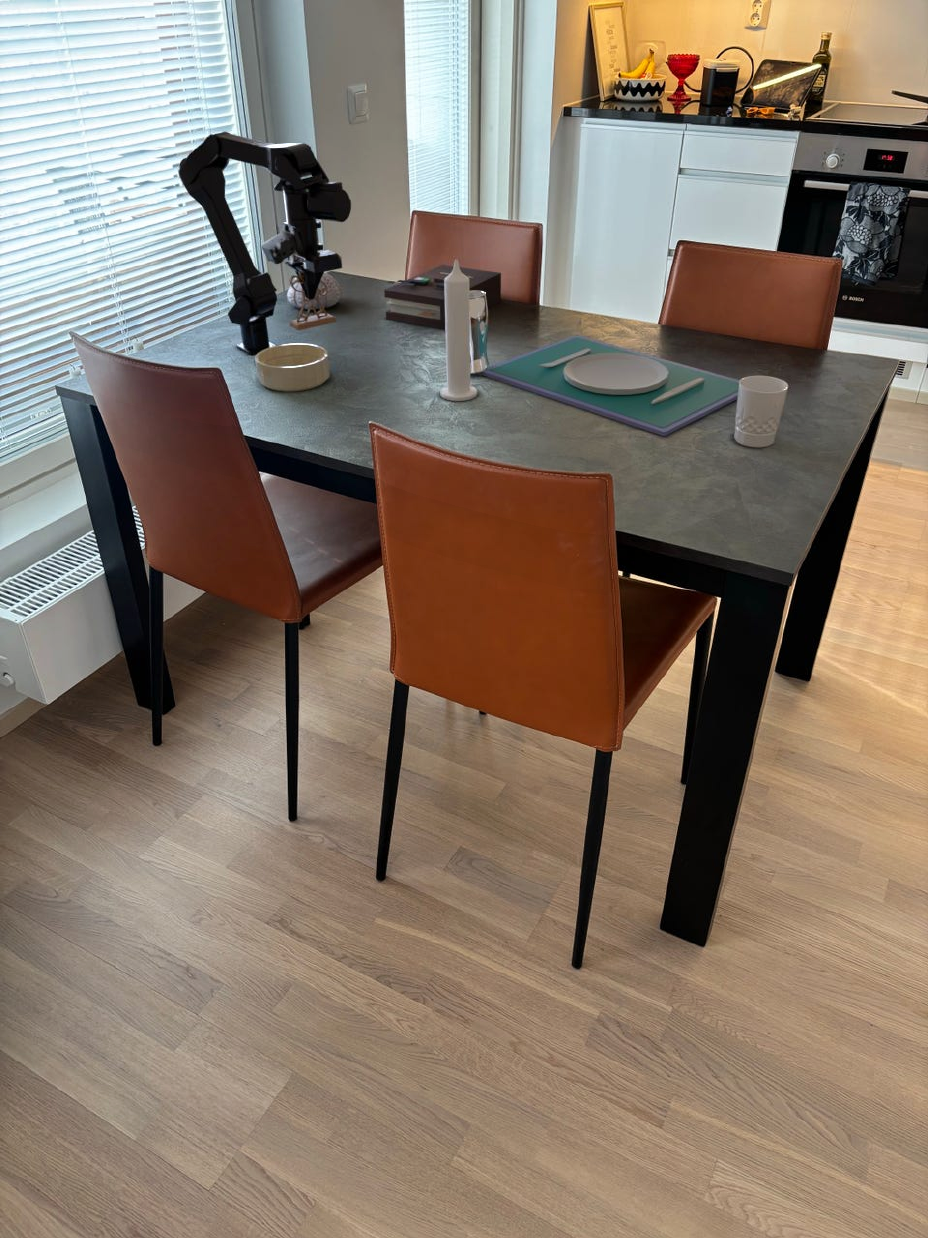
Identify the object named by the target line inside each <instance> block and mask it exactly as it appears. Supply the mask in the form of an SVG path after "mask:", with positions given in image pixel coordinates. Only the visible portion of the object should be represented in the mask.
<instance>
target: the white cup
mask: <svg viewBox="0 0 928 1238" xmlns="http://www.w3.org/2000/svg"><path fill="white" fill-rule="evenodd" d="M739 380H740V381H739V389H738V398H737V400H736V408H735V418H734V419H735V420H734V422H735V426H734V435H733V439H734V440H735V442H736V443H738V444H739V445H742V446H745V447H749V448H767V447H769V446H771V445H773V444H774V443H775V439H776V435H777V431H778V429H779V426H780V423H781V420H782V419H781V418H782V414H783V412H784V406H785V402H786V399H787V394H788V390H789V384H788V383H787V381H785V380H783V379H781V378H778V377H774V376H768V375H749V376H745V377H742V378H741V379H739Z"/></svg>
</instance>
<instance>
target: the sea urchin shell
mask: <svg viewBox="0 0 928 1238" xmlns="http://www.w3.org/2000/svg"><path fill="white" fill-rule="evenodd" d="M296 279H297V278H296V277H295V278H293V281H295V280H296ZM321 281H323V282H324V283H325V284H326V286H327V290H328V291H327V294H326V295H325V296H321V295H319V293H318V290H317V299H318V301H319V302H320V304H321V305H322V307H323V308H324V309H326V308H327V309H329V308H331V307H333V306H335V305H336V304H337V303H339V301H340V300H341V297H343V289H342V286H341V285H340V284H339V282H338V281H337V280H336V279H335V277H333V276H332V275H330V274H328V273H327V272H324V273H323V275H322V278H321ZM293 286H294V288H295V289H296V290H299V291H302V290H303V289H302V286H301V284H300V283H296V284H295V285H293ZM323 287H324V285H323V284H322V283H321V282H320V283H319V286H318V289H321V288H323ZM324 292H325V290H323V292H322V291H321V294H324ZM286 297H287V300H288V301H289V303H290V304H291V305H292V306H293V307H296V308H299V309H301V306H302V303H303V295H302V293H301V292H297V291H295V290H294V289H293V288H292V287H291V285H290V286H289V288H288V291H287V294H286ZM305 299H306V296H305ZM310 304H312V306H313V307H314V309H315V310H320V309H321V307H320V306H319V304H318V303H317V301H316V300H311V301H308V302H307V301H306V303H305V306H304V308H303V310H308V308H309V305H310ZM311 310H312V311H313V309H312V308H311ZM311 310H310V311H311Z"/></svg>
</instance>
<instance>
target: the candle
mask: <svg viewBox="0 0 928 1238" xmlns="http://www.w3.org/2000/svg"><path fill="white" fill-rule="evenodd" d="M453 266H454V268H453V271H452V273H451V274H449V275H448V276H447V277H446V278H445V279H444V292H445V329H444V331H445V361H446V362H445V363H446V364H445V365H446V366H445V367H446V369H445V370H446V386H443V387H442V388H441V389H440V391H439V392H440V397H441V398H442V399H444V400H448V401H451V402H465V401H469V400H470V401H471V400H472V399H474V398H476V397H477V396H478V390H477V388H476V387H475V386H474V385H473V386H472V385H471V374H470V306H469V278H468V277H467V276H465V275H464V274H463V273H462V272H461V270H460V268H459V267H460V265H459V260H458V259H455V260H454V263H453Z"/></svg>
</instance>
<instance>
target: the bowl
mask: <svg viewBox="0 0 928 1238" xmlns="http://www.w3.org/2000/svg"><path fill="white" fill-rule="evenodd" d="M254 360H255V368H256V374H257V380H258V383H259V384H260V385H262V386H264V387H265V388H267V389H270V390H273V391H278V392H299V391H305V390H310V389H314V388H316V387H319V386H321V385H323V384H324V383H325V382H326V381H327V380H328V379H330V376H331V369H330V367H331V366H330V358H329V352H328V351H327V349H326V348H325V347H322V346H320V345H317V344H312V343H302V342H301V343H285V344H278V345H276V346H274V347H270V348H267V349H265V350H262V351H261V352H257V354H256V355H255V357H254Z"/></svg>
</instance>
